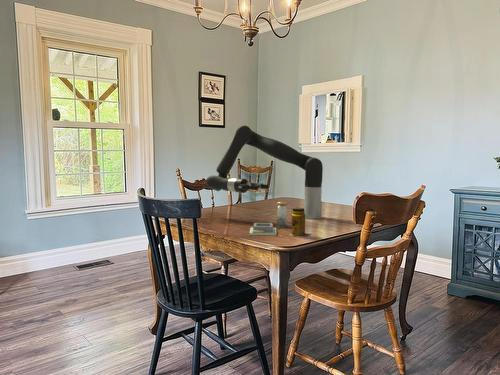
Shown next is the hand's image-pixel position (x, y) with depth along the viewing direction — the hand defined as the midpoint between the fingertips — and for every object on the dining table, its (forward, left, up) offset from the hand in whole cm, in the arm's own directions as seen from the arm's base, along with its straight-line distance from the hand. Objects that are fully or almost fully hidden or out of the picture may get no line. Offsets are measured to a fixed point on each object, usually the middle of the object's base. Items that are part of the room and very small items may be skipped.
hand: (262, 187), depth 192 cm
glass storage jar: (-10, +6, -19) cm, 22 cm away
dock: (-1, +20, -19) cm, 28 cm away
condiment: (-17, +24, -19) cm, 35 cm away
